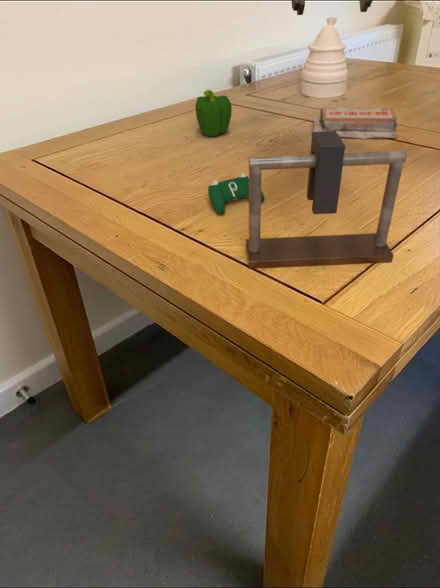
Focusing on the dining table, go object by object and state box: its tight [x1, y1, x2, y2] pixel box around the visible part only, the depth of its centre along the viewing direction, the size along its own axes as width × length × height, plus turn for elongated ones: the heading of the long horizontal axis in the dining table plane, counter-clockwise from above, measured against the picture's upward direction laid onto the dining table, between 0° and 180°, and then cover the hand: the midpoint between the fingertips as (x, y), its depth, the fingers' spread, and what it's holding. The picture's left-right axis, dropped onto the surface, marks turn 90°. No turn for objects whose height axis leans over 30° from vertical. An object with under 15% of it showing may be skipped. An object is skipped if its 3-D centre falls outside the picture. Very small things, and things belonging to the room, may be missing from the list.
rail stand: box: [245, 149, 407, 270], centre depth 63 cm, size 20×6×15 cm, turn 92°
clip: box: [306, 131, 346, 215], centre depth 60 cm, size 5×3×9 cm, turn 2°
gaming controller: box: [207, 172, 266, 215], centre depth 80 cm, size 9×4×6 cm
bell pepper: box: [194, 89, 232, 138], centre depth 106 cm, size 8×8×10 cm
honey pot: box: [299, 16, 349, 99], centre depth 128 cm, size 13×13×18 cm
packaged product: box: [312, 106, 398, 140], centre depth 105 cm, size 18×5×10 cm
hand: (333, 9), depth 62 cm, fingers open, 8 cm apart
